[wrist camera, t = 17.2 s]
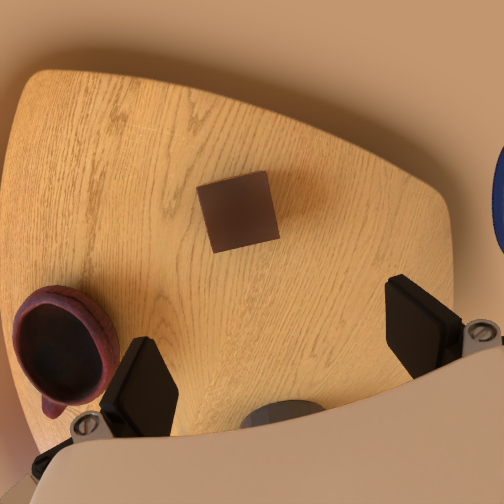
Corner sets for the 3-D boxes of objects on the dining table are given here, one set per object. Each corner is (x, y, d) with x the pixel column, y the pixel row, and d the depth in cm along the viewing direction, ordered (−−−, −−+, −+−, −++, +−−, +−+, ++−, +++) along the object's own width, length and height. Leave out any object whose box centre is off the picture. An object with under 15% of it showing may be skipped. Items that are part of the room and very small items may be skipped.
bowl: (29, 271, 26) (-13, 298, 18) (120, 273, 27) (83, 309, 19) (64, 380, 31) (40, 418, 23) (147, 394, 31) (131, 441, 23)
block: (260, 170, 25) (265, 170, 20) (272, 225, 26) (280, 238, 21) (204, 183, 25) (195, 187, 20) (218, 238, 26) (213, 253, 21)
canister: (328, 389, 32) (346, 440, 24) (332, 442, 35) (345, 485, 27) (227, 410, 32) (226, 464, 24) (250, 459, 36) (253, 504, 27)
